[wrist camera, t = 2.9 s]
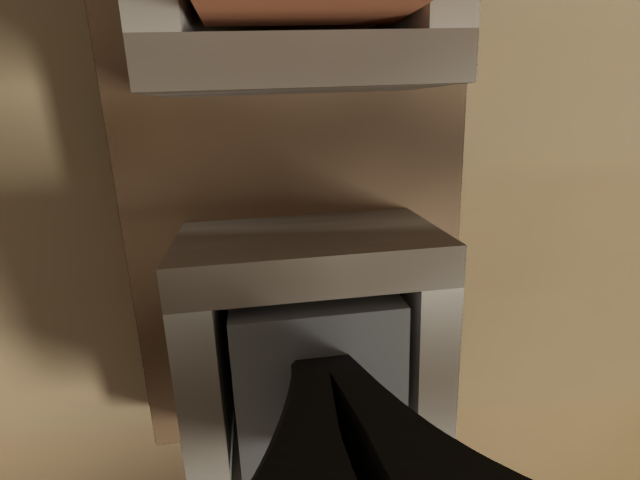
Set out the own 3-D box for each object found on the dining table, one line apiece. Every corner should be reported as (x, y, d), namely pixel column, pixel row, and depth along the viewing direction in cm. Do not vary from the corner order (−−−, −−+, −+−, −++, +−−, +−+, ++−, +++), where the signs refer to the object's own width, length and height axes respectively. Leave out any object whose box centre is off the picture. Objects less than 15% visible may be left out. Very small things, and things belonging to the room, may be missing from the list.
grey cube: (367, 369, 15) (406, 458, 11) (244, 383, 15) (242, 481, 11) (366, 254, 14) (410, 307, 10) (233, 264, 13) (226, 325, 10)
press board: (429, 376, 18) (511, 500, 12) (166, 407, 17) (123, 560, 11) (449, -179, 13) (603, -402, 7) (77, -197, 12) (-87, -487, 6)
